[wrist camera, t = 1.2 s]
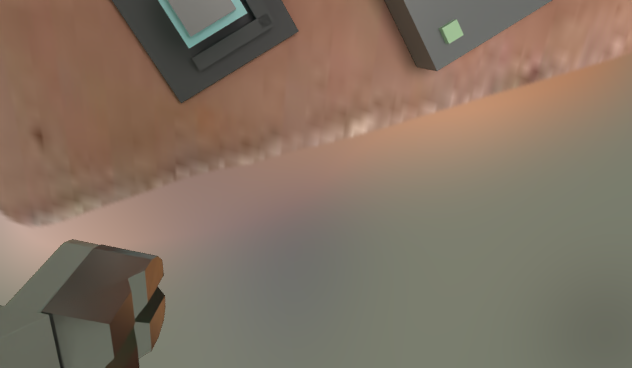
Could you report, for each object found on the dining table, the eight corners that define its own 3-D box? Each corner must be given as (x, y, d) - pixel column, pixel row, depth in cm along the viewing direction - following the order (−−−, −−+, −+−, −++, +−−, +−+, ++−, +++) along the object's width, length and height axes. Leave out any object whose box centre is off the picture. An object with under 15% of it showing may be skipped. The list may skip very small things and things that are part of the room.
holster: (97, -25, 36) (89, -29, 34) (222, -101, 36) (223, -110, 34) (181, 101, 39) (180, 106, 37) (296, 31, 40) (302, 31, 37)
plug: (159, -8, 36) (146, -17, 29) (209, -39, 36) (209, -55, 29) (193, 44, 38) (188, 49, 30) (241, 15, 38) (248, 12, 30)
